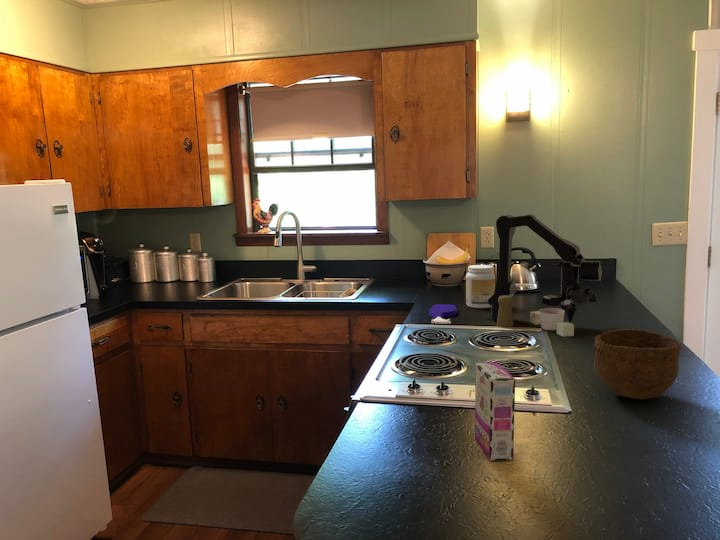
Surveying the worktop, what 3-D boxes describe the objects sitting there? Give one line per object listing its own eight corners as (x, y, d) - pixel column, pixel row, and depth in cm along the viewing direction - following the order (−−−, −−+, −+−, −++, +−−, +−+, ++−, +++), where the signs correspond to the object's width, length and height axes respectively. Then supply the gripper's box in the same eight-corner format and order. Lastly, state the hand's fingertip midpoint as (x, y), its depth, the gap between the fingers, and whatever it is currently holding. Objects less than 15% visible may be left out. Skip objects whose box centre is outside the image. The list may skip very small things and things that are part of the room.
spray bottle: (431, 303, 246) (425, 318, 222) (458, 304, 244) (454, 319, 220) (431, 310, 247) (425, 326, 223) (458, 311, 244) (454, 326, 221)
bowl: (674, 417, 132) (677, 352, 130) (585, 402, 142) (587, 342, 140) (680, 391, 148) (683, 333, 145) (600, 379, 157) (602, 325, 155)
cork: (513, 327, 214) (514, 297, 213) (496, 327, 215) (497, 297, 214) (513, 323, 220) (513, 294, 218) (496, 323, 221) (496, 294, 220)
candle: (554, 323, 217) (554, 307, 216) (570, 329, 208) (570, 311, 208) (533, 326, 214) (533, 309, 213) (548, 332, 206) (548, 314, 205)
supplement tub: (501, 306, 250) (501, 266, 248) (480, 310, 243) (480, 269, 241) (480, 301, 260) (480, 263, 258) (459, 305, 253) (459, 266, 251)
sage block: (556, 334, 204) (556, 322, 204) (567, 333, 205) (567, 321, 205) (563, 336, 201) (563, 325, 200) (573, 335, 201) (574, 324, 201)
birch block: (530, 322, 222) (530, 311, 221) (539, 321, 223) (539, 311, 222) (535, 324, 218) (535, 314, 217) (545, 323, 219) (545, 313, 218)
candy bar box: (515, 460, 114) (516, 378, 111) (489, 462, 113) (490, 380, 111) (497, 436, 125) (497, 360, 122) (473, 437, 124) (474, 362, 122)
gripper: (559, 285, 201) (558, 330, 203) (607, 280, 205) (606, 324, 207) (541, 280, 211) (541, 323, 214) (587, 276, 216) (587, 318, 218)
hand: (569, 322), depth 213 cm, fingers closed
